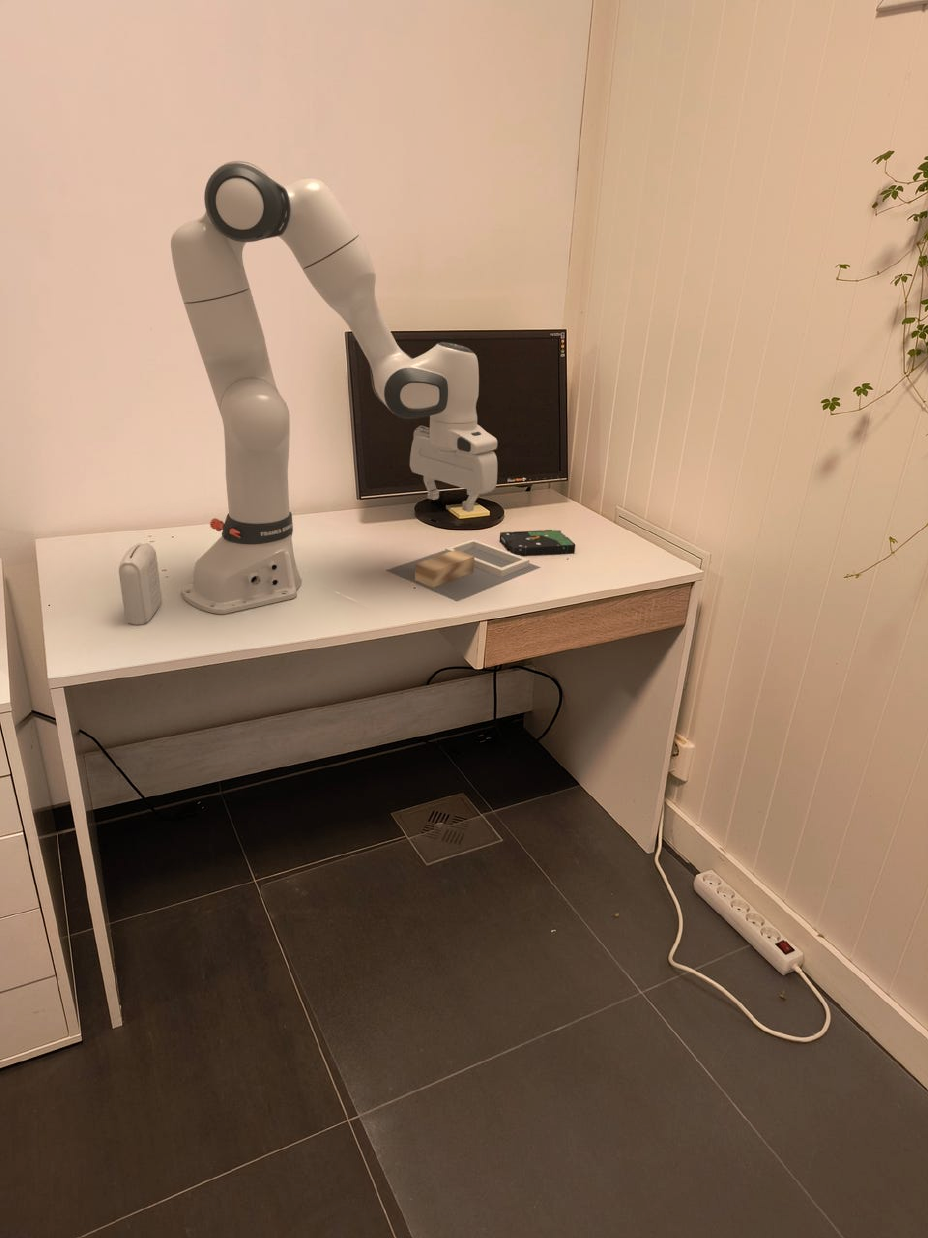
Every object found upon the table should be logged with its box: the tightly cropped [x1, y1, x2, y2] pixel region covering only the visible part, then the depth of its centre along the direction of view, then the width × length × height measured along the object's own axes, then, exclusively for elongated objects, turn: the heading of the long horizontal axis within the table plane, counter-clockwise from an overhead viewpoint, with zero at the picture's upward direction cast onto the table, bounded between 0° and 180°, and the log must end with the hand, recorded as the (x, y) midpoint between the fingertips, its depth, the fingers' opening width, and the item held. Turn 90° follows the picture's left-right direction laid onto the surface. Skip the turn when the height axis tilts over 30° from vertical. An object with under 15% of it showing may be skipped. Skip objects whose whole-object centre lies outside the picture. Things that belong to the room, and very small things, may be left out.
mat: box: [385, 538, 541, 602], centre depth 167 cm, size 26×20×2 cm
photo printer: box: [118, 542, 163, 626], centre depth 140 cm, size 10×4×12 cm, turn 3°
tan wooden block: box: [415, 550, 474, 588], centre depth 163 cm, size 12×5×4 cm, turn 137°
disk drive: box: [499, 529, 576, 557], centre depth 182 cm, size 10×3×15 cm
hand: (450, 504), depth 157 cm, fingers open, 8 cm apart
